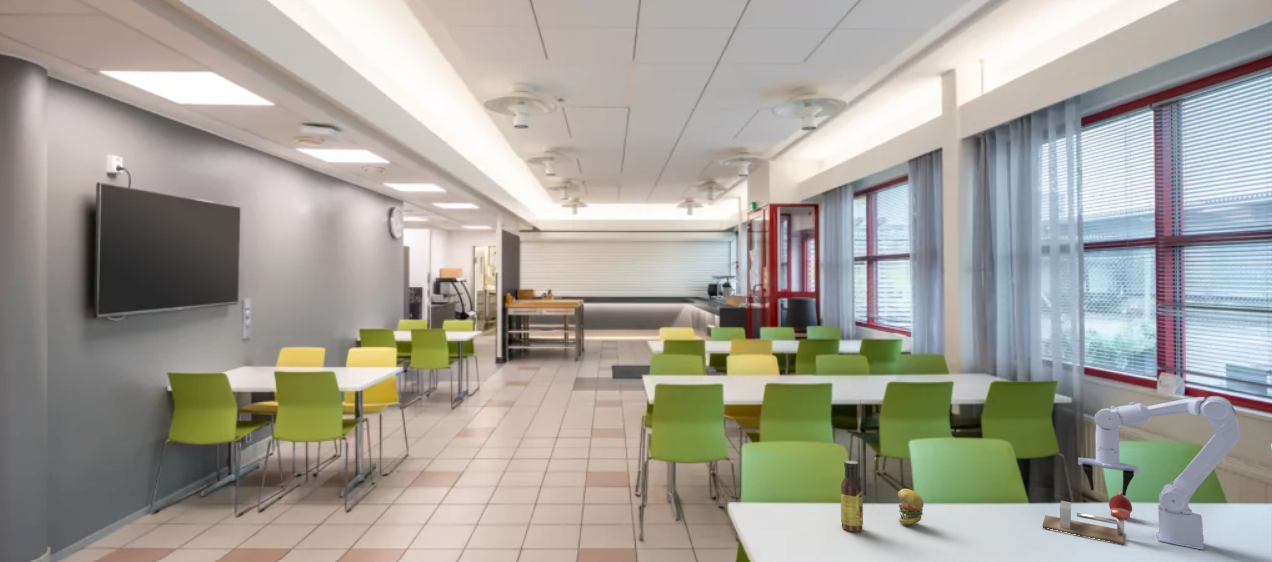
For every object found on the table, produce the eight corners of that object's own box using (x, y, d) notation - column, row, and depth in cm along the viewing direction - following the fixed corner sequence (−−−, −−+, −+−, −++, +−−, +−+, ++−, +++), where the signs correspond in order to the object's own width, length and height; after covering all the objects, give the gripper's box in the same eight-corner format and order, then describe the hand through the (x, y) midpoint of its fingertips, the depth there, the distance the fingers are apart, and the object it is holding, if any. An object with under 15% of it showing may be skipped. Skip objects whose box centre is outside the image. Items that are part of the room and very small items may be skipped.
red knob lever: (1130, 534, 172) (1129, 510, 172) (1130, 538, 168) (1130, 514, 168) (1077, 523, 179) (1076, 500, 180) (1076, 528, 176) (1076, 504, 176)
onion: (1132, 522, 184) (1132, 496, 184) (1109, 518, 188) (1109, 493, 188) (1131, 517, 189) (1131, 492, 189) (1108, 513, 192) (1108, 488, 193)
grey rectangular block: (1070, 521, 182) (1070, 502, 182) (1070, 529, 175) (1069, 509, 176) (1061, 520, 183) (1061, 500, 183) (1060, 527, 177) (1059, 507, 177)
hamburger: (900, 518, 185) (900, 480, 186) (925, 523, 181) (925, 484, 181) (895, 526, 179) (895, 486, 179) (921, 531, 175) (921, 491, 175)
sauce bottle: (864, 533, 172) (864, 465, 173) (842, 531, 174) (842, 464, 174) (860, 525, 179) (860, 460, 180) (839, 523, 180) (839, 458, 181)
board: (1122, 532, 176) (1122, 529, 176) (1123, 545, 166) (1123, 542, 166) (1045, 517, 187) (1045, 515, 187) (1042, 528, 178) (1042, 526, 178)
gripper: (1077, 446, 183) (1078, 490, 183) (1138, 454, 174) (1139, 500, 173) (1078, 442, 188) (1078, 484, 188) (1137, 450, 179) (1138, 494, 179)
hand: (1107, 492), depth 181 cm, fingers open, 7 cm apart
